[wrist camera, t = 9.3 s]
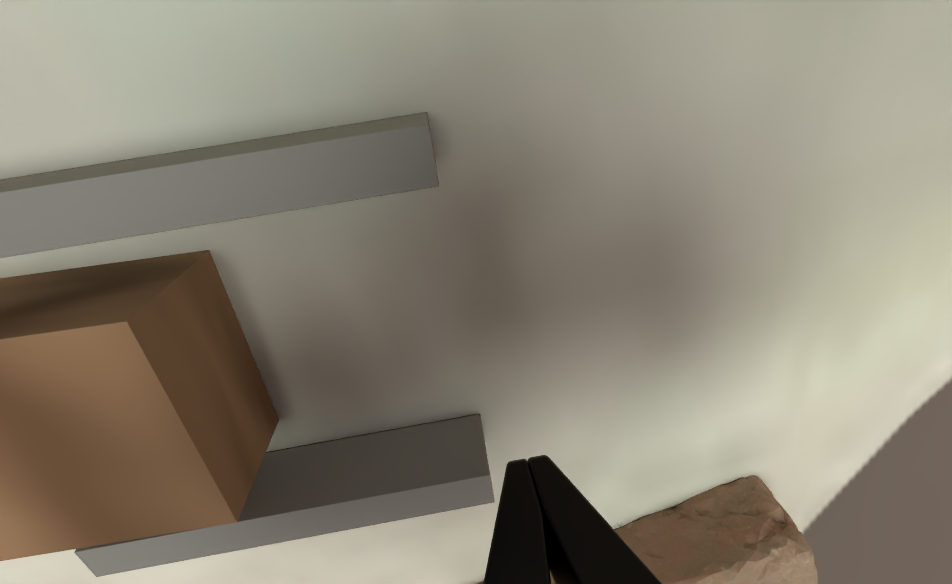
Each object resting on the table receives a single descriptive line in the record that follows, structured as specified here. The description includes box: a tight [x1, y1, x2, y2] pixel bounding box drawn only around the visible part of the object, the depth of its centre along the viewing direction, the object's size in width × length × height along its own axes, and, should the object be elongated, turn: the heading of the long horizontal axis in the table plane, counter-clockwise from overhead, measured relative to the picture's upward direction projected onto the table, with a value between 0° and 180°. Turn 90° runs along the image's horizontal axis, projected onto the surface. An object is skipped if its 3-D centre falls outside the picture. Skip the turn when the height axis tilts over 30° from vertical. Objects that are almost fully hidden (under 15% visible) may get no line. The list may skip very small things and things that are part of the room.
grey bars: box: [0, 112, 495, 577], centre depth 14 cm, size 14×13×3 cm
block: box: [0, 250, 279, 561], centre depth 13 cm, size 7×7×4 cm
